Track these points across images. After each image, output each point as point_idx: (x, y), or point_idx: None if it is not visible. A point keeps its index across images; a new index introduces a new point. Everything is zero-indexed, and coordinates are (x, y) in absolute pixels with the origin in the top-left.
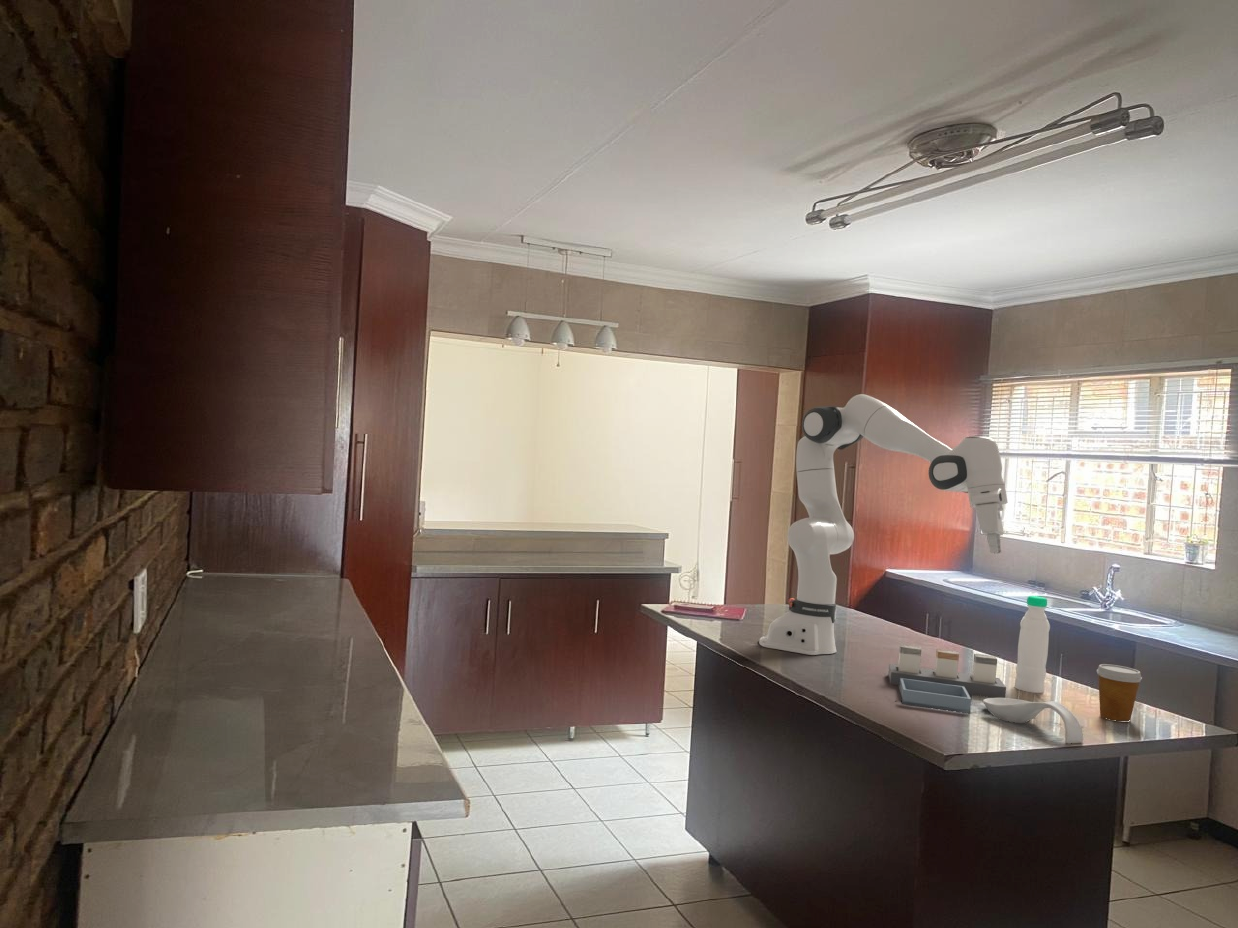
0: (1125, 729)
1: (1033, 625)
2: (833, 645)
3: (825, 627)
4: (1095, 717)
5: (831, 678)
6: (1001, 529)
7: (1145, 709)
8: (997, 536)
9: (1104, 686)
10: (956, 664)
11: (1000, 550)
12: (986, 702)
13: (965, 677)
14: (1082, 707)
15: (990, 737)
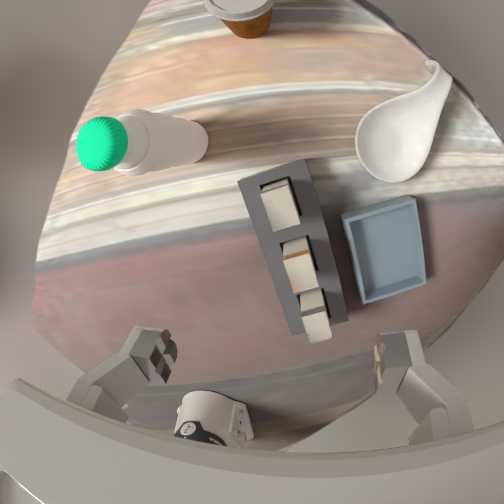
0: (304, 10)
1: (162, 137)
2: (206, 398)
3: (216, 422)
4: (267, 42)
5: (348, 365)
6: (86, 444)
7: (151, 13)
8: (102, 412)
9: (266, 15)
10: (308, 248)
11: (160, 337)
12: (410, 177)
13: (288, 228)
14: (216, 64)
15: (481, 163)
